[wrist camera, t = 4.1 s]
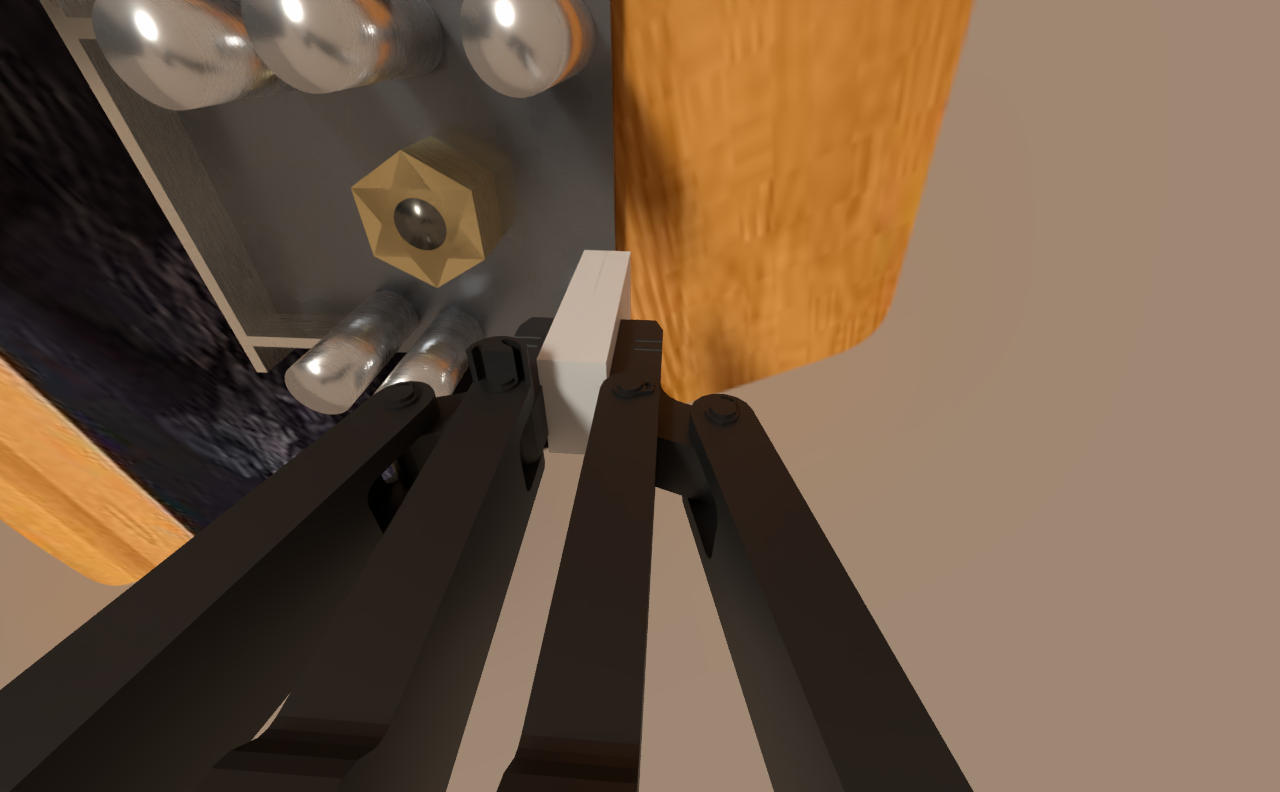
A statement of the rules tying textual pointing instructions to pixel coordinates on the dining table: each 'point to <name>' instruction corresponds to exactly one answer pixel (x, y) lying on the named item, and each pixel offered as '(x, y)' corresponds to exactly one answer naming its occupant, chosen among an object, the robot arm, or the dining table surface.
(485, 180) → the nut
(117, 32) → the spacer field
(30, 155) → the dining table surface
